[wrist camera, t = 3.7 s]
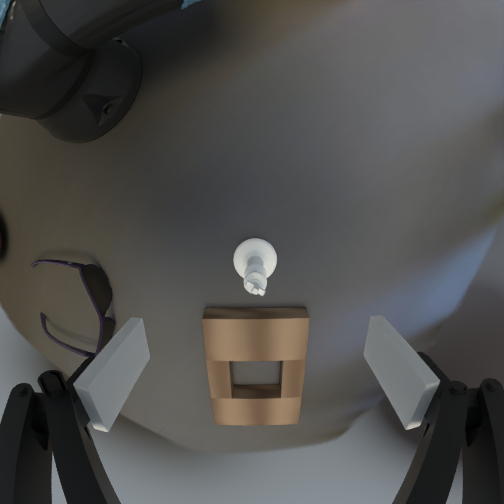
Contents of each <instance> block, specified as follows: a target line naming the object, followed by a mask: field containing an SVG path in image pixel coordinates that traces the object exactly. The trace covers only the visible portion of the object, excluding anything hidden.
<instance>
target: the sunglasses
mask: <svg viewBox="0 0 504 504" xmlns="http://www.w3.org/2000/svg"><path fill="white" fill-rule="evenodd" d="M37 263H52V264H60V265H64V266H68V267H74V268H78V269H79V272H80V276H81V278H82V281H83V283H84V285H85V288H86V290H87V292H88V294H89V296H90V298H91V301H92V303H93V305H94V307H95V309H96V311H97V313H98V316H99V319H100V334H99V341H98V346H97V350H96V352H95V353H91V352H87V351H84V350H81V349H78V348H75V347H72V346H70V345H68V344H65V343H63V342H61V341H59V340H58V339H56V338H55V337H53V336H52V335H51V334H50V333H49V332H48V330H47V328H46V320H45V315H44V314H43V313H42V312H41V313H40V317H41V323H42V327H43V330H44V332H45V333H46V335H47V336H48V337H49V338H50V339H52V340H53V341H54V342H56V343H57V344H59V345H61V346H62V347H64V348H66V349H68V350H70V351H73V352H75V353H77V354H80V355H83V356H85V357H88V358H89V357H91V356H97V355H98V354H99V353H100V352H101V351H102V349H103V348H104V347H105V346H106V345H107V344H108V343H109V341H110V340H111V338H112V334H113V331H114V327H115V321H114V320H113V319H112V318H110V317H105V314H106V311H107V310H108V308H109V305H110V303H111V299H112V289H111V287H110V285H109V282H108V278H107V276H106V275H105V273H104V272H103V271H102V270H101V269H100V268H99V267H97V266H96V265H93V264H88V265H84V264H80V263H74V262H68V261H61V260H39V261H36V262H34V263H32V264H31V267H35V266H36V265H37Z"/></svg>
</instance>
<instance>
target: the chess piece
mask: <svg viewBox="0 0 504 504" xmlns="http://www.w3.org/2000/svg"><path fill="white" fill-rule="evenodd" d="M233 261H234V266H235V269H236V271H237V272H238V274H239V275H240V276H241V277H243V278H244V287H245V289H246V290H247V291H248V292H250V293H253V294H255V295H257V294H260V295H262V296H263V295H264V293H265V288H266V286H267V279H266V278H268V277H269V276H270V275H271V274H272V273H273V271H274V270H275V267H276V264H277V255H276V252H275V250H274V248H273V247H272V245H271V244H269V243H268V242H267V241H265V240H262V239H258V238H252V239H248V240H246V241H244V242H242V243H241V244H240V245H239V246H238V247H237V249H236V250H235V253H234V258H233Z"/></svg>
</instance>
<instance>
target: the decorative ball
mask: <svg viewBox="0 0 504 504" xmlns="http://www.w3.org/2000/svg"><path fill="white" fill-rule="evenodd" d="M1 247H2V237H1V232H0V253H1Z"/></svg>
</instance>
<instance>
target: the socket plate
mask: <svg viewBox="0 0 504 504" xmlns="http://www.w3.org/2000/svg"><path fill="white" fill-rule="evenodd" d="M202 325H203V335H204V344H205V353H206V362H207V370H208V378H209V385H210V393H211V400H212V407H213V413H214V420H215V424H220V425H282V424H298V420H299V412H300V405H301V397H302V389H303V381H304V372H305V363H306V353H307V342H308V331H309V315H308V313H307V310H306V308H305V307H285V308H206V310H205V312H204V315H203V317H202ZM232 361H281V364H280V383H279V384H277V385H233V374H232Z"/></svg>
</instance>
